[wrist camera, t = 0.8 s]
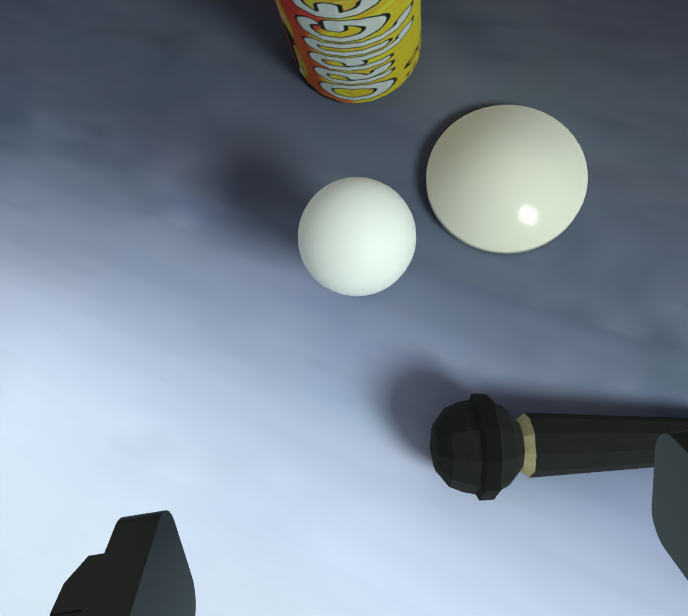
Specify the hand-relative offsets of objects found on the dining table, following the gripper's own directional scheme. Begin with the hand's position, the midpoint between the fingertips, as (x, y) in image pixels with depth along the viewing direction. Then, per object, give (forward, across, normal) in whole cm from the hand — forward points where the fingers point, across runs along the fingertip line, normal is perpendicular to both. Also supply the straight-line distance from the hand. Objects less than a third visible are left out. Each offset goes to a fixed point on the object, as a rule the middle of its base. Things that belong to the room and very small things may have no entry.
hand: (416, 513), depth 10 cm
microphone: (+21, -13, +17) cm, 30 cm away
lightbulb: (+30, -1, +7) cm, 30 cm away
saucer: (+32, -11, +2) cm, 33 cm away
